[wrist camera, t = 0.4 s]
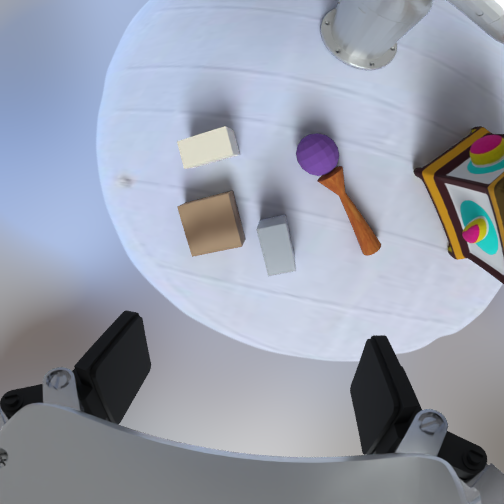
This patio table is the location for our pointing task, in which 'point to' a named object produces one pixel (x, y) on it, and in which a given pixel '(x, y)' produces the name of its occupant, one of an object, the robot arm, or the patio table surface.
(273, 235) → the slate grey brick
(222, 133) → the cream brick
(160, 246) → the patio table surface
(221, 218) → the walnut block
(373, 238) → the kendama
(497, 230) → the decorative lantern
